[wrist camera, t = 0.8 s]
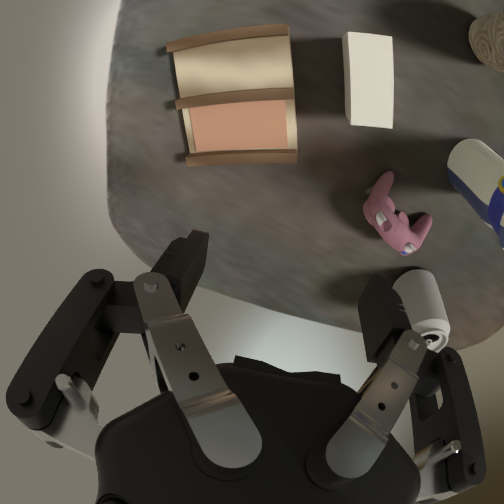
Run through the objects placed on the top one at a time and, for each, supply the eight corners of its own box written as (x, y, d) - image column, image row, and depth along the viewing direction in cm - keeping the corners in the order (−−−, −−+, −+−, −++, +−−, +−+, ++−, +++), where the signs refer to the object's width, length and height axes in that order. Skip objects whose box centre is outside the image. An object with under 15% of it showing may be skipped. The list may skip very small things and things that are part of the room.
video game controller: (364, 180, 33) (352, 221, 30) (390, 164, 29) (381, 207, 26) (409, 226, 35) (402, 267, 32) (435, 216, 31) (431, 260, 28)
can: (441, 270, 36) (463, 332, 27) (420, 302, 41) (433, 362, 32) (403, 260, 37) (419, 326, 28) (383, 295, 42) (391, 359, 33)
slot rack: (175, 43, 25) (165, 43, 23) (288, 26, 22) (286, 23, 20) (194, 159, 35) (187, 166, 33) (297, 156, 32) (296, 163, 30)
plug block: (341, 37, 22) (347, 31, 17) (378, 41, 21) (391, 36, 16) (344, 113, 27) (351, 124, 23) (379, 116, 26) (392, 128, 22)
